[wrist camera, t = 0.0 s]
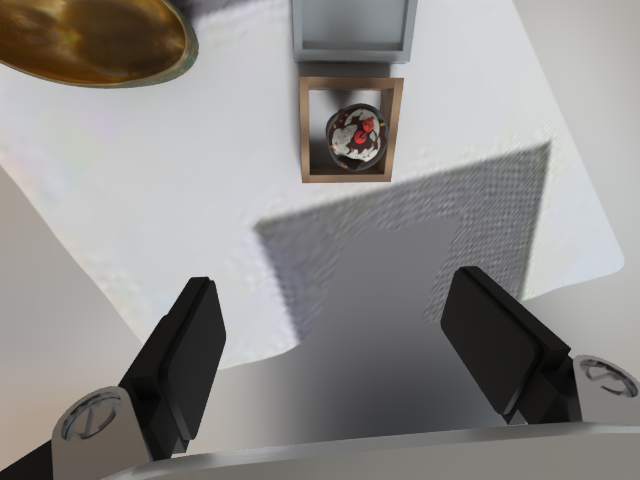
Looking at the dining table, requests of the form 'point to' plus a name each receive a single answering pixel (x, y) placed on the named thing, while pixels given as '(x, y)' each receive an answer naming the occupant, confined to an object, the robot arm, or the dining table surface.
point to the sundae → (357, 136)
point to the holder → (387, 108)
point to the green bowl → (97, 41)
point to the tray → (353, 31)
